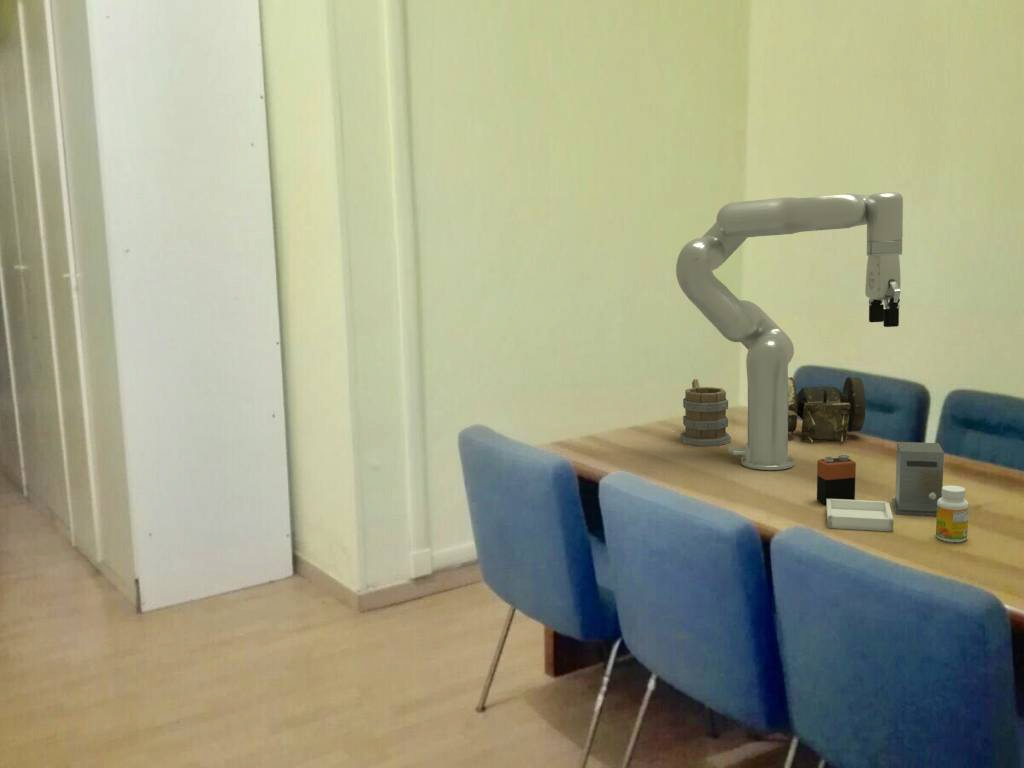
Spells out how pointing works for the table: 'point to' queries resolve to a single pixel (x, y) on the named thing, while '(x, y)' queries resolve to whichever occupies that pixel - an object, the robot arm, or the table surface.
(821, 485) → the battery
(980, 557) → the table surface
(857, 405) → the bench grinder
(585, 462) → the table surface
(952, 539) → the supplement bottle
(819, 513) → the table surface
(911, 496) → the control box
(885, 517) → the tray
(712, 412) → the tankard
